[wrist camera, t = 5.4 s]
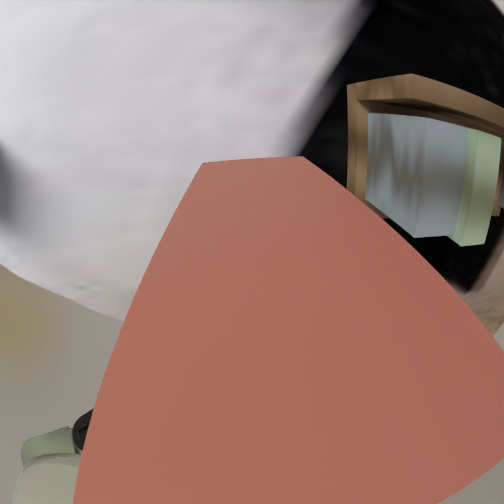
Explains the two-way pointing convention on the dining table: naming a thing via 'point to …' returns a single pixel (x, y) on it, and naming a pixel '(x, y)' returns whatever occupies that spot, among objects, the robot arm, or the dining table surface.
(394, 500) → the salmon red block
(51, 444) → the robot arm
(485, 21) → the dining table surface
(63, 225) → the dining table surface
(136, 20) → the dining table surface
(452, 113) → the shelf
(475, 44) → the dining table surface
